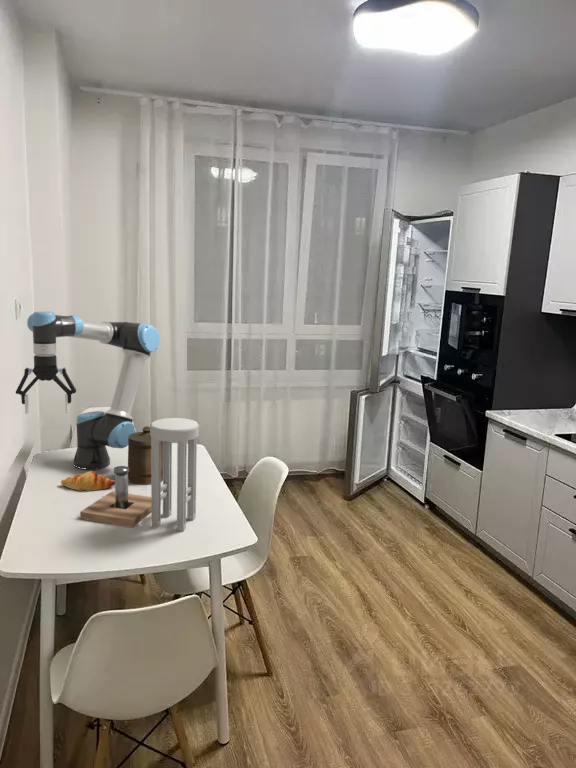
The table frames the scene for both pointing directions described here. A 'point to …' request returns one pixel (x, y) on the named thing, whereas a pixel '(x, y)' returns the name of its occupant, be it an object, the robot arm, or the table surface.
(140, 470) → the wooden container
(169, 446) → the stool
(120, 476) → the link pin
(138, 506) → the keeper block
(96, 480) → the croissant
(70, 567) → the table surface
